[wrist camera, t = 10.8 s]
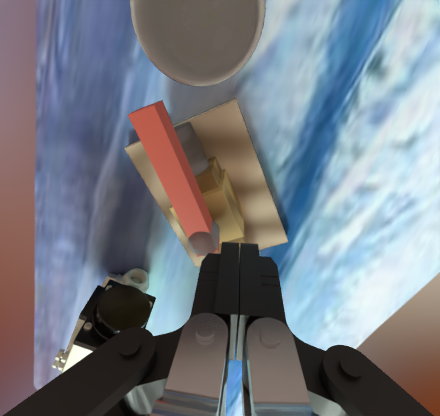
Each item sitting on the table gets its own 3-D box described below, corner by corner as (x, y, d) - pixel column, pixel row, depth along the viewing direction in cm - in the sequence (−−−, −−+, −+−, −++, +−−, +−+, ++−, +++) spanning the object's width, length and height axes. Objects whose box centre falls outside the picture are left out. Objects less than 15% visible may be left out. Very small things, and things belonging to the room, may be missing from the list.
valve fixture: (286, 235, 41) (296, 279, 33) (197, 261, 44) (187, 305, 37) (235, 98, 31) (233, 113, 24) (128, 145, 35) (96, 171, 27)
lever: (223, 238, 30) (222, 252, 28) (197, 244, 31) (194, 258, 29) (166, 98, 23) (158, 103, 21) (134, 110, 24) (123, 116, 22)
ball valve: (123, 237, 43) (56, 339, 28) (171, 258, 45) (134, 367, 29) (95, 302, 52) (33, 408, 36) (137, 318, 53) (94, 426, 38)
